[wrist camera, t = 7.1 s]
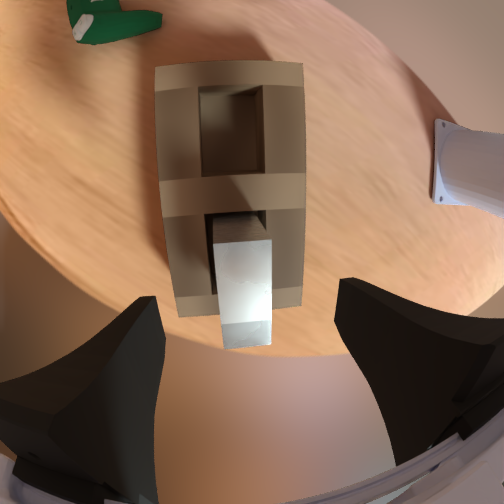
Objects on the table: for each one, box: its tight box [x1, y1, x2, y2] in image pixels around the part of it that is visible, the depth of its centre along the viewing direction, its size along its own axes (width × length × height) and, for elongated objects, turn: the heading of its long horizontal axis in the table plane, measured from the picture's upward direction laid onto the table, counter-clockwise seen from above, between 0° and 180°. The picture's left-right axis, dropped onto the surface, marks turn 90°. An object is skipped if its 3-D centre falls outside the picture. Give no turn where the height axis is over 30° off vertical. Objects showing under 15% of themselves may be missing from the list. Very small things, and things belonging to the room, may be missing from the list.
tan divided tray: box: [155, 60, 306, 317], centre depth 16 cm, size 8×15×4 cm, turn 1°
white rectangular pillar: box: [213, 211, 272, 349], centre depth 15 cm, size 2×6×7 cm, turn 1°
